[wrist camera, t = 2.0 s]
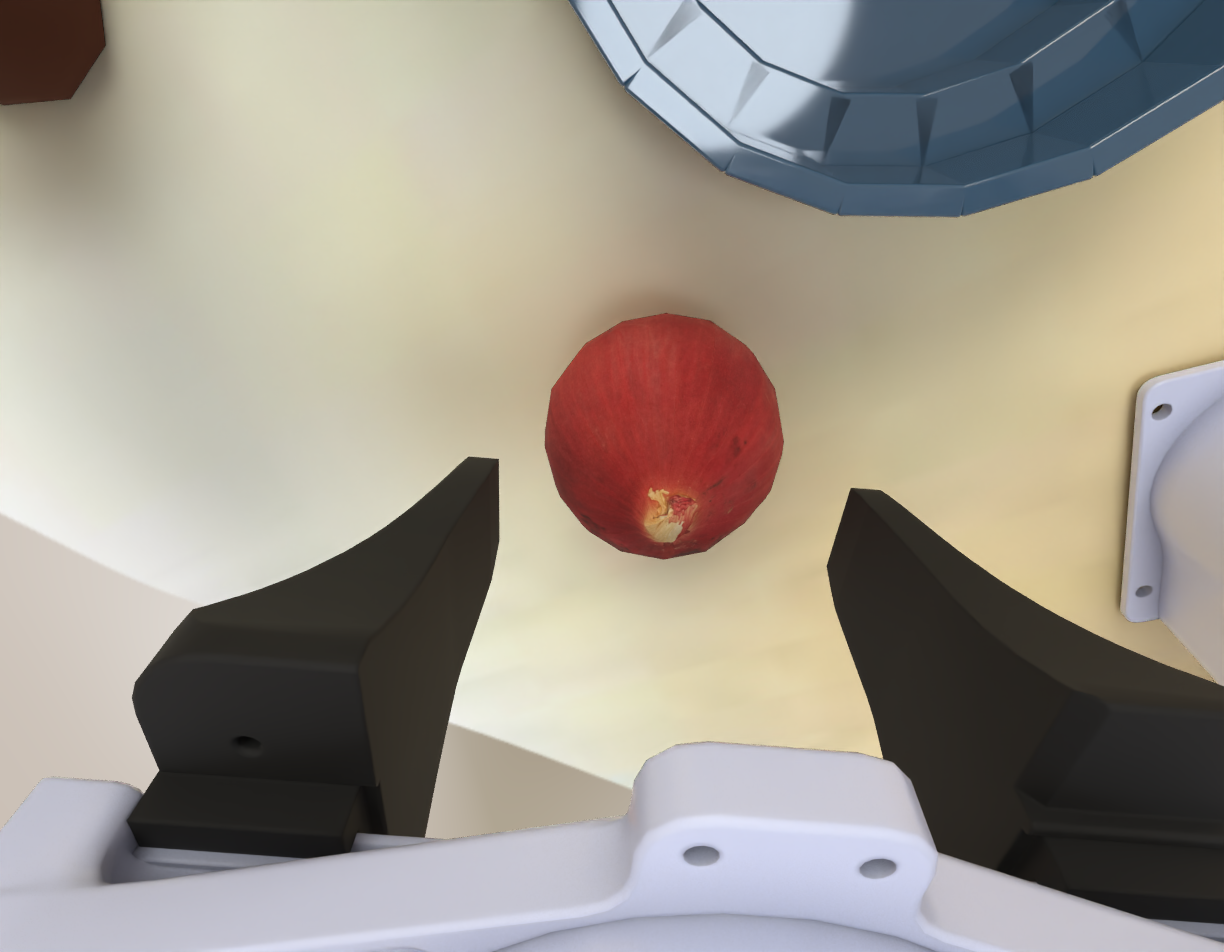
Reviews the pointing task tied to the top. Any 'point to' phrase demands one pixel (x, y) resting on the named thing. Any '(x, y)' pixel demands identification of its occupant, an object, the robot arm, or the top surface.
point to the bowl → (914, 91)
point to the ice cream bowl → (47, 48)
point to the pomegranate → (663, 435)
